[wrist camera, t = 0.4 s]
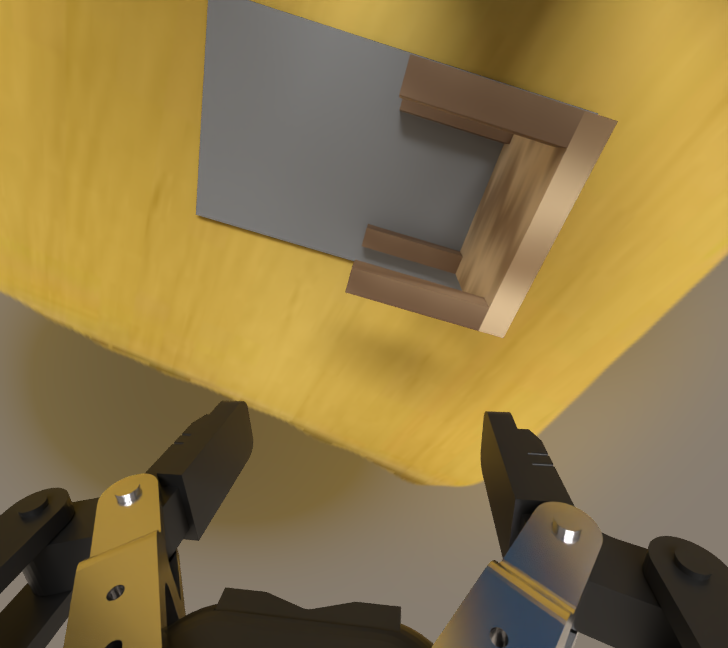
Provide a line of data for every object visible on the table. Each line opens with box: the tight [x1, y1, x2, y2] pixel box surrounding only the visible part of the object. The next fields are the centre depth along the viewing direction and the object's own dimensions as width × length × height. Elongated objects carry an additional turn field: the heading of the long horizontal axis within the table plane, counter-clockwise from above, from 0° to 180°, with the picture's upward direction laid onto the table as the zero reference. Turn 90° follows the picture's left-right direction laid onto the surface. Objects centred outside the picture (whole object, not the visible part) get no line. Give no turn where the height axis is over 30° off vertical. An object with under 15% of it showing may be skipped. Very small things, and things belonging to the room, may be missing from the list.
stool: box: [346, 54, 618, 338], centre depth 25 cm, size 12×10×12 cm
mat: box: [196, 0, 598, 291], centre depth 30 cm, size 16×29×1 cm, turn 75°
